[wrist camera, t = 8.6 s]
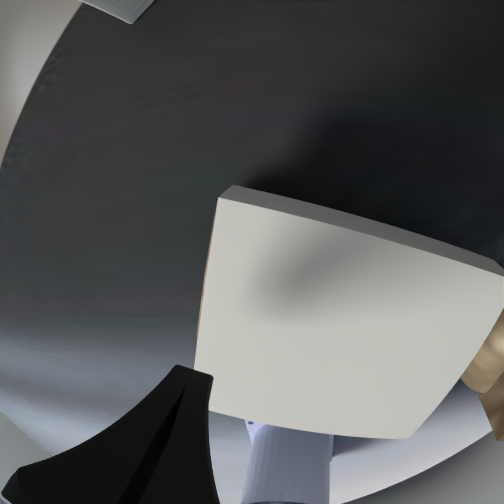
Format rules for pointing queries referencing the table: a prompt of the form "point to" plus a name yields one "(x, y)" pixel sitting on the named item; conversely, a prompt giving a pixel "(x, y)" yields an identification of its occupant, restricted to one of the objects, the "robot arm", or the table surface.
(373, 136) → the table surface
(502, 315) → the roller
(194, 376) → the robot arm
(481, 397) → the block
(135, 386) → the table surface
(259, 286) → the slab
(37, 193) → the table surface
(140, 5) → the small box
